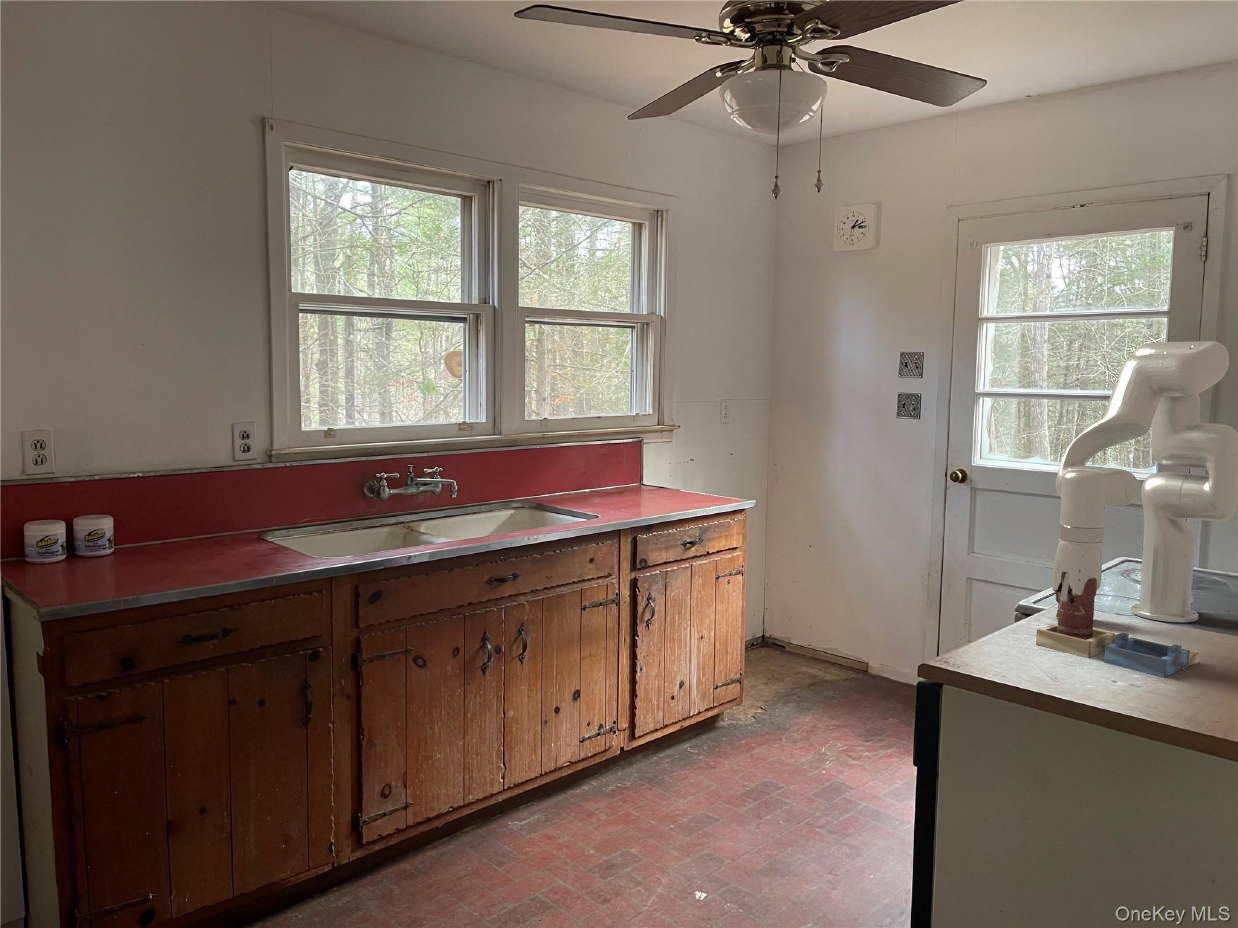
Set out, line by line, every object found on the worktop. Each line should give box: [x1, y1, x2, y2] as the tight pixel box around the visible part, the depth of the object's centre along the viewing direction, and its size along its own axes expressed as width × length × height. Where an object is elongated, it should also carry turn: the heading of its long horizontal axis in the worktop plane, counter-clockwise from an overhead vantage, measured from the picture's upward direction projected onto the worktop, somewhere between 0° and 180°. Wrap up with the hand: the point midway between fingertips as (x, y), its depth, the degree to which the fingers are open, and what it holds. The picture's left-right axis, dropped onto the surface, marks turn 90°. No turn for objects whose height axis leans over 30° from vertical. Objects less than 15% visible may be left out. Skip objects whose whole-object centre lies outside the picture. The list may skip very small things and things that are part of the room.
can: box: [1057, 578, 1098, 640], centre depth 170 cm, size 6×6×14 cm
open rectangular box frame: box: [1035, 622, 1200, 678], centre depth 167 cm, size 14×23×4 cm, turn 36°
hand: (1075, 628), depth 171 cm, fingers closed
